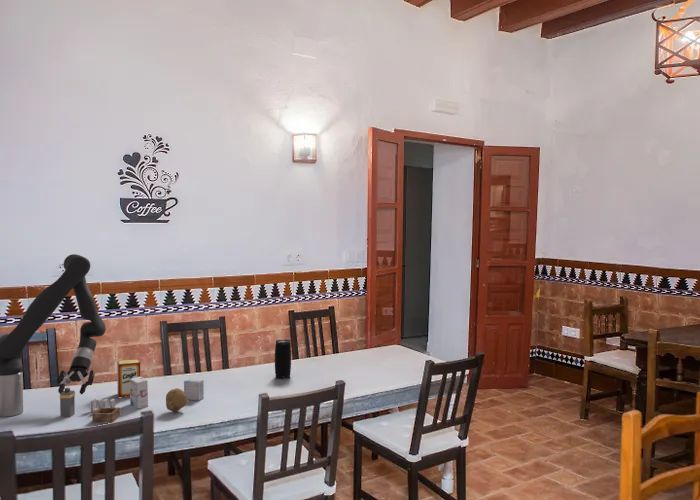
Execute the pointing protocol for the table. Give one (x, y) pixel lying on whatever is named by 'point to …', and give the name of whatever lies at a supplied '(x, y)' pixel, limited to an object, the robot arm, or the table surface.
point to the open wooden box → (106, 415)
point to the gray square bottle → (67, 403)
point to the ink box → (139, 392)
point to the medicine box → (194, 389)
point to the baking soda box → (126, 375)
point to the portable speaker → (282, 358)
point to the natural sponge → (176, 400)
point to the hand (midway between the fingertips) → (70, 393)
